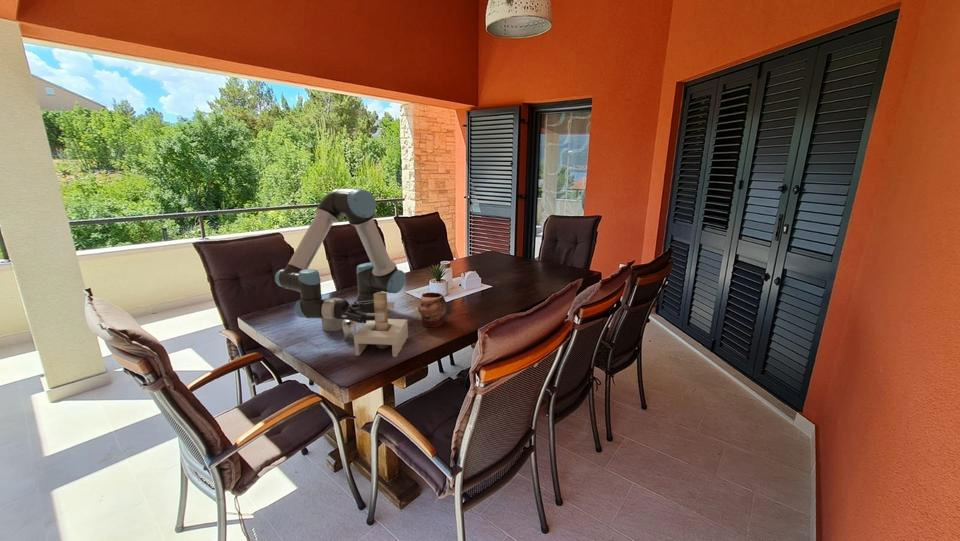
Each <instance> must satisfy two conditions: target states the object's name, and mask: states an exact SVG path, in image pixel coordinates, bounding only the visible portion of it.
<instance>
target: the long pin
mask: <svg viewBox="0 0 960 541" xmlns="http://www.w3.org/2000/svg"><path fill="white" fill-rule="evenodd" d="M387 293H388V292H384V291H382V292H377V293H374V294H373V295H374V311H373V312H374V313H375V314H384V320H385V321H375V329H376V331H389V330H388V319H389V317H388V316H389V312H388V310H389V309H387V302H388V295H387ZM375 346H376V348H377V349H387V348H388V347H390V345H384V344H375Z"/></svg>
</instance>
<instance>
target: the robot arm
mask: <svg viewBox="0 0 960 541" xmlns="http://www.w3.org/2000/svg"><path fill="white" fill-rule="evenodd" d="M376 207H377V202H376V199H375V197H374V195H373V194H372V193H371V192H370V191H368V190H367V189H362V188H345V187H342V188H341V187H339V188H335V189H333V190H331V191H329V192H328V193H327V194H326V195H325V196H324V197H323V199H322V200H321V201H320V202H319V204H318V206H317V208H316V209H315V213H316V214H315V216H314V218H313V220H312V221H311V223H310V225H309V226H308V228H307V230H306V232H305V234H304V235H303V237H302V239H301V240H300V242H299V244H298V246H297V248H296V249H295V251H294V252H293V255H291V258H290V260H289V262H287V265H286V267H285V268H282V269H279V270H278V271H277V272H276V273H275V275H274V282H275V283H276V285H277V286H279V287H281V288H283V289H286V290H292V291H296V292H299V293H300V294H299V295H300V298H299V299H298V300H297V301H296V303H295V308H294V312H295V314H296V316H297V317H298V318H303V319H321V318H324V319H330V320H331V319H335V318H336V319H347V320H351V321H354V322H355V323H359V324H365V323H366V322H367V321H385V320H384V314H375V312H374V295H373V294H374V293H377V292H385V293H388V294H398V293H399V292H400V291H402V289H403V288H404V286H405V283H406V280H407V279H406V273H405V272H404V271H403V270H401V269H398V266H397V264H396V262H394V260H391V259H390V256H389V254H388V252H387V249H386V246H385V244H384V242H383V239H382V236H381V234H380V232H379V230H378V227H377V225H376V223H375V220H374V218H375V217H376V211H377V208H376ZM342 216H345V217H346V219H347V221H348V223H349V224H350V225H351V226H354V228H355V230H356V232H357V235H358V237H359V238H360V241H361V243H362V246H363V247H364V250H365V252H366V255H367V256H368V259H369V260H370V261H369V262H365V263H360V264H358V265H357V266H356V273H355V274H356V282H357V283H356V284H357V297H356V301H355V300H354V301H353V303H351V304H350V303H349V301H347V299H346V300H344V299H342V300H323V297H322V296H323V295H322V288H321V287H322V286H321V278H320V272H319V270H318V269H316V268H315V269H314V268H312V269H311V268H309V267H310V265H311V264H312V262H313V260H314V258H315V256H316V255H317V253H318V251H319V249H320V248H321V246H322V245H323V244H322V243H323V242H324V240H325V238H326V236H327V235H328V233H329V231H330V230H331V228H332V226H333V224H334V223H337V222H338V220H339V218H340V217H342ZM389 309H392V310H394V309H395V302H394V301H387V310H389ZM363 312H365V313H363ZM366 312H367V313H366ZM369 312H371V313H369ZM373 312H374V313H373Z"/></svg>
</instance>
